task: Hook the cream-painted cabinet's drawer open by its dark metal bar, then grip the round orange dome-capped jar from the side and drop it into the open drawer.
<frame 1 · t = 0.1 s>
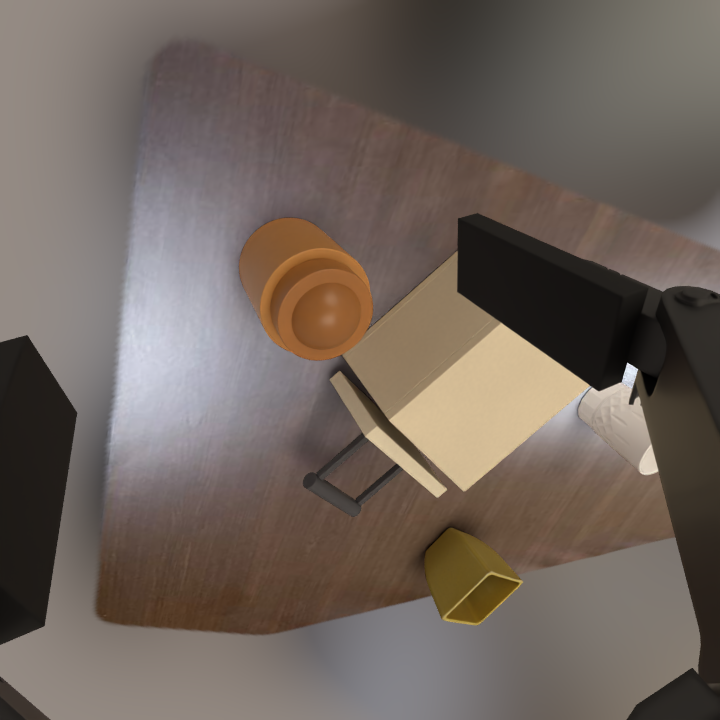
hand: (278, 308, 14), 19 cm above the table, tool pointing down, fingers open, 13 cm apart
white cup: (596, 398, 60), on the table
flower pot: (444, 540, 63), on the table
cabinet: (441, 339, 43), on the table
drawer: (415, 413, 40), point 5 cm above the table, slide at 1.0 cm
orange dome-capped jar: (288, 266, 34), on the table
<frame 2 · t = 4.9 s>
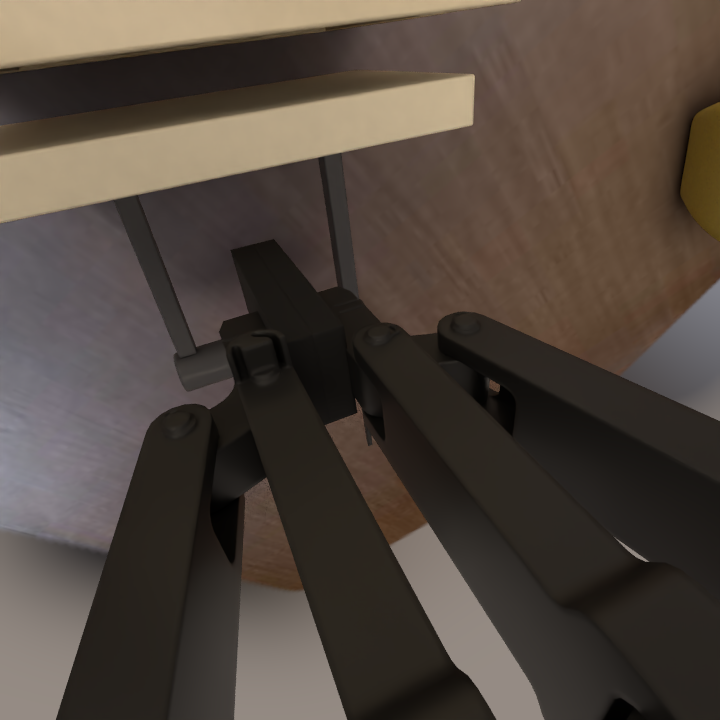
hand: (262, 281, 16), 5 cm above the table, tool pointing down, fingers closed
flower pot: (709, 143, 29), on the table
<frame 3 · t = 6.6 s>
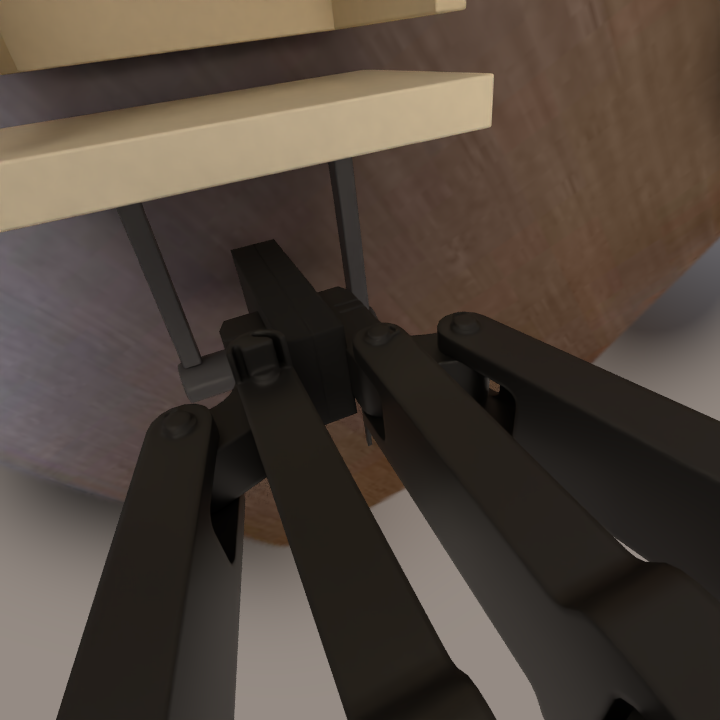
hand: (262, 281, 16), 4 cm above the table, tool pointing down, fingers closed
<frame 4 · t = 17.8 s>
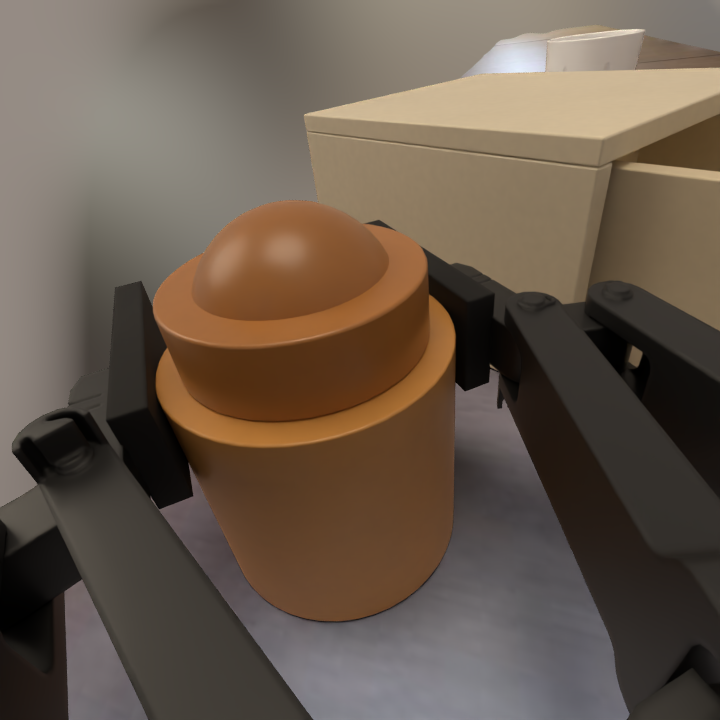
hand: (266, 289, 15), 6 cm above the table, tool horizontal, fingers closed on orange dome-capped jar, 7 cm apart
white cup: (575, 156, 47), on the table
cabinet: (503, 283, 26), on the table
orange dome-capped jar: (342, 508, 15), on the table, touching gripper
when the fingers open (15 cm above the table, at t = 24.2 s): orange dome-capped jar drops 2 cm and tips over, resting on cabinet, drawer.
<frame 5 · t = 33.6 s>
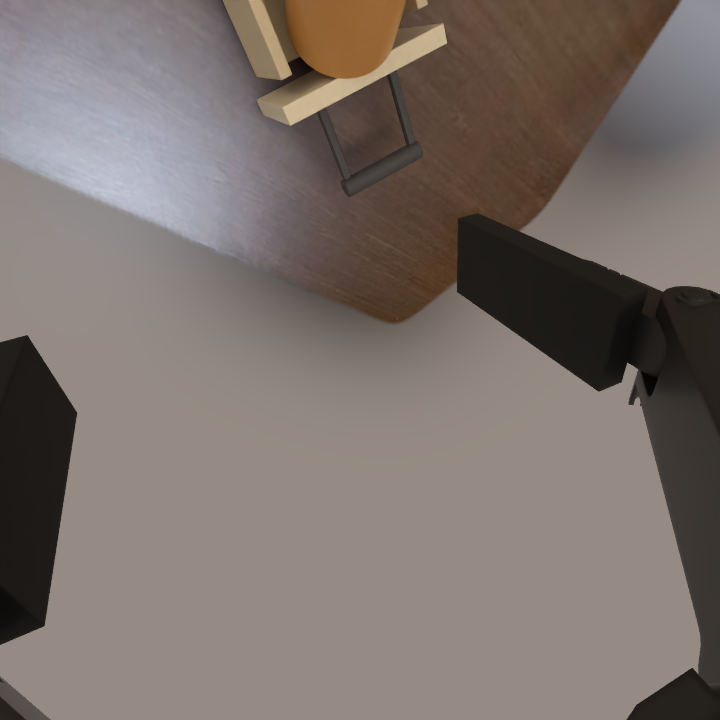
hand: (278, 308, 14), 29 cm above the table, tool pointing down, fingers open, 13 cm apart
drawer: (329, 24, 31), point 5 cm above the table, slide at 8.6 cm, touching orange dome-capped jar
orange dome-capped jar: (341, 23, 30), point 7 cm above the table, tilted 35°, touching cabinet, drawer
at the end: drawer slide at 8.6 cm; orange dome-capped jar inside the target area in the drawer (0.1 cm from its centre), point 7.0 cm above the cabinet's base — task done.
